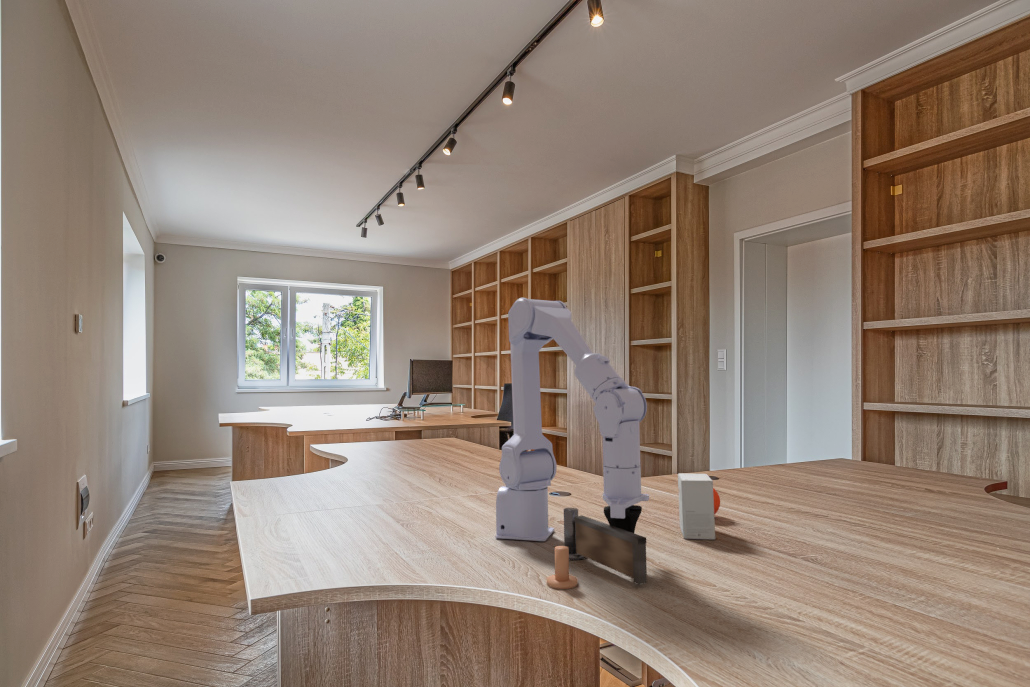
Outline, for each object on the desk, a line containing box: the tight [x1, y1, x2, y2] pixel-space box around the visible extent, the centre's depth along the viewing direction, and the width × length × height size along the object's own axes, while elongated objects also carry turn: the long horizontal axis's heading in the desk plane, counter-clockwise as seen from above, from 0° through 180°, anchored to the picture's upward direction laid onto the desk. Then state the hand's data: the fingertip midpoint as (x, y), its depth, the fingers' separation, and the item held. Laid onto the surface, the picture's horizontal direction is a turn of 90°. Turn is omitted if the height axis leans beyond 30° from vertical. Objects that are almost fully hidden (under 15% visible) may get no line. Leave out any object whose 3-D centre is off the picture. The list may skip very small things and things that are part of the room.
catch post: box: [546, 545, 579, 590], centre depth 82 cm, size 4×4×5 cm
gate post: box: [563, 507, 587, 561], centre depth 95 cm, size 5×5×8 cm
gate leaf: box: [574, 515, 648, 585], centre depth 86 cm, size 15×2×6 cm, turn 29°
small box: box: [677, 472, 716, 540], centre depth 106 cm, size 8×6×10 cm
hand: (623, 554), depth 88 cm, fingers closed
